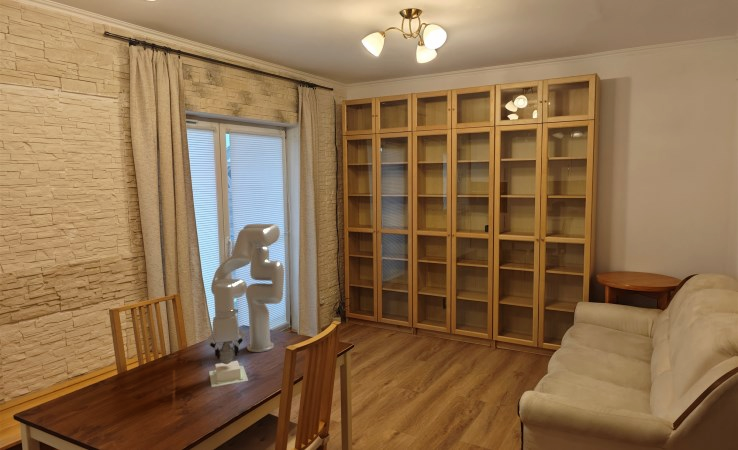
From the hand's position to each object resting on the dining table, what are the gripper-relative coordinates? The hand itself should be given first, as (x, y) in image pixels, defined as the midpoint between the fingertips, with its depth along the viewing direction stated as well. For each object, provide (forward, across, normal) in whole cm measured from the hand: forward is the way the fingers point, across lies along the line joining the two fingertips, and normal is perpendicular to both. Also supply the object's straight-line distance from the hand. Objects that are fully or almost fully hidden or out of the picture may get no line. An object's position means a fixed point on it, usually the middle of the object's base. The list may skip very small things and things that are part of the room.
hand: (227, 356), depth 194 cm
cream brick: (+8, 0, 0) cm, 8 cm away
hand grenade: (+3, 0, 0) cm, 3 cm away
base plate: (+10, 0, 0) cm, 10 cm away
